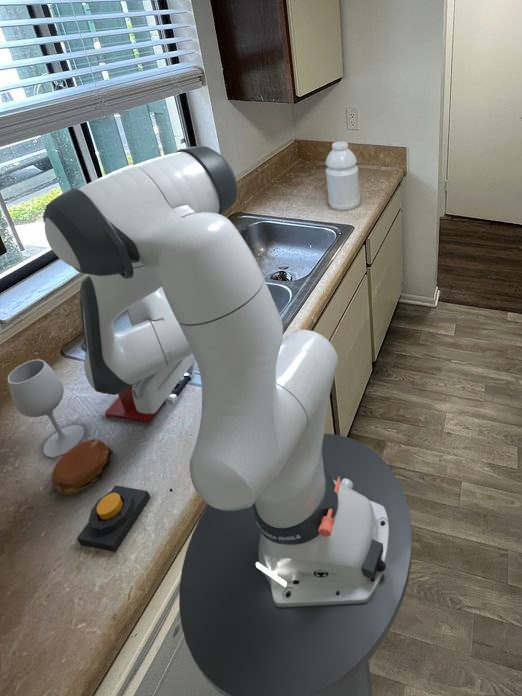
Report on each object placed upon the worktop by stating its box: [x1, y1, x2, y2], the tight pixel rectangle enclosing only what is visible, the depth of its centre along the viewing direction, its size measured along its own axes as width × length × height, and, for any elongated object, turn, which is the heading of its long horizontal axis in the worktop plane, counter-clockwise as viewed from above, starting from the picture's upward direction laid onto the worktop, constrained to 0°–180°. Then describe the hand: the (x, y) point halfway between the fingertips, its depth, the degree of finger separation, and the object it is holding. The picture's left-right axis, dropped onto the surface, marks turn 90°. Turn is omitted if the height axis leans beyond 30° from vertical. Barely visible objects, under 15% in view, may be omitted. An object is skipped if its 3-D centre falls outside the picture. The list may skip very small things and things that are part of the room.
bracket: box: [104, 385, 175, 424], centre depth 100 cm, size 11×9×14 cm
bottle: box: [324, 140, 361, 211], centre depth 187 cm, size 14×14×28 cm
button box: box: [76, 484, 151, 553], centre depth 79 cm, size 7×9×4 cm
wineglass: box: [7, 359, 85, 458], centre depth 90 cm, size 8×8×21 cm
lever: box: [172, 376, 191, 399], centre depth 97 cm, size 15×5×2 cm, turn 82°
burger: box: [51, 438, 114, 496], centre depth 87 cm, size 10×9×5 cm
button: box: [97, 493, 123, 520], centre depth 78 cm, size 4×4×2 cm
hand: (181, 390), depth 98 cm, fingers closed on lever, 5 cm apart
